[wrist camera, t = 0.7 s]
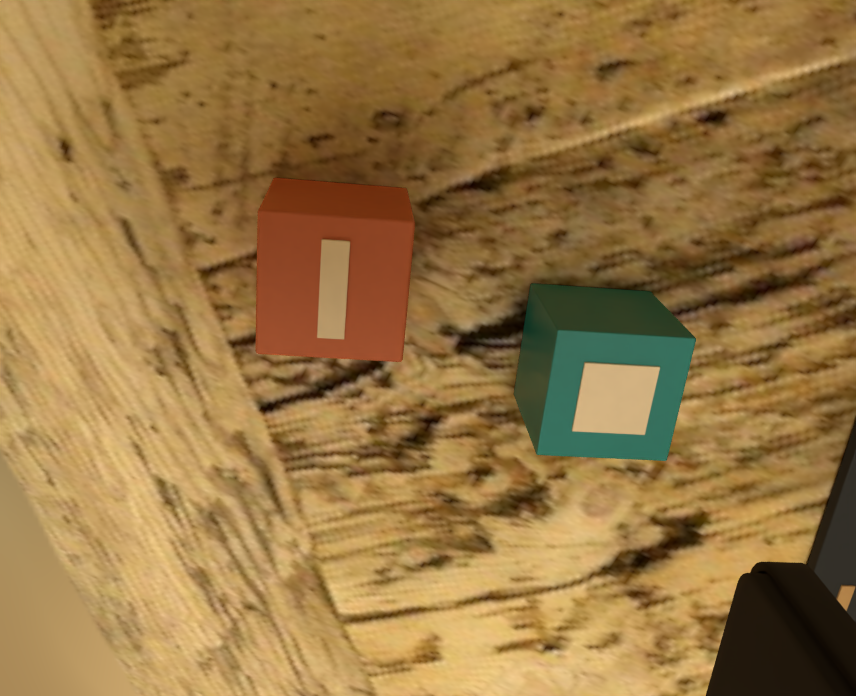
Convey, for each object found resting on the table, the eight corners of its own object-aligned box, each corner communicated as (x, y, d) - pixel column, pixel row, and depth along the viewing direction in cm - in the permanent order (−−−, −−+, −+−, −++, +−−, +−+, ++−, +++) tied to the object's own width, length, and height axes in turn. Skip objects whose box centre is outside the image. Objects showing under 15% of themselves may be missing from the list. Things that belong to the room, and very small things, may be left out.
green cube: (530, 282, 29) (558, 331, 25) (650, 290, 29) (698, 339, 25) (513, 394, 30) (536, 457, 26) (627, 400, 31) (668, 463, 27)
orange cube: (272, 176, 27) (256, 210, 23) (407, 187, 27) (415, 222, 23) (270, 303, 28) (254, 356, 24) (396, 311, 29) (402, 364, 25)
